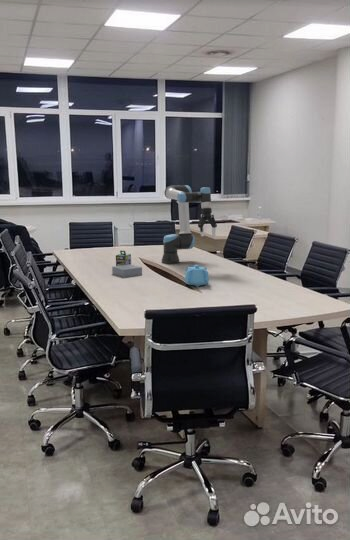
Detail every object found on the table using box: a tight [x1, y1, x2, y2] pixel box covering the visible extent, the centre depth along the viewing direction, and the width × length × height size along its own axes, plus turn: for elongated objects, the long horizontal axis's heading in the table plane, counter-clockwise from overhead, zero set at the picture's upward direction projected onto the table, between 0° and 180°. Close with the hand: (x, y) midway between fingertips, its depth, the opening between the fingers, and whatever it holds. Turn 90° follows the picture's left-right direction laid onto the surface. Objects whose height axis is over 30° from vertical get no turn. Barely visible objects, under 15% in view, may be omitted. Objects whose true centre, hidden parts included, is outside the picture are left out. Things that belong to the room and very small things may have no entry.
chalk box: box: [115, 249, 132, 266], centre depth 386 cm, size 9×9×15 cm
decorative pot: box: [184, 264, 210, 288], centre depth 330 cm, size 16×16×14 cm
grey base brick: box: [111, 263, 143, 278], centre depth 365 cm, size 16×16×6 cm
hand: (208, 236), depth 372 cm, fingers open, 13 cm apart
